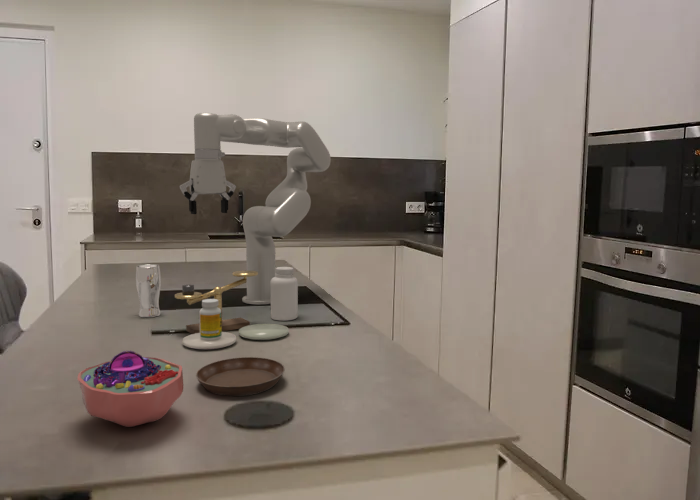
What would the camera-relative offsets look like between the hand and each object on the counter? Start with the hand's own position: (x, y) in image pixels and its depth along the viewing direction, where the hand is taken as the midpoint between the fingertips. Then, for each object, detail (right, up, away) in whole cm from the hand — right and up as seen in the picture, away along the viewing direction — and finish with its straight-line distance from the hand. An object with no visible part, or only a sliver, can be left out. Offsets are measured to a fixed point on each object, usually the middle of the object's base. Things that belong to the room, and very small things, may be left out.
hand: (209, 213), depth 180 cm
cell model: (+5, -41, -76) cm, 86 cm away
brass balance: (+6, -33, -16) cm, 37 cm away
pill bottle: (+23, -31, -3) cm, 39 cm away
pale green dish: (+20, -33, -22) cm, 44 cm away
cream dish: (+7, -34, -30) cm, 46 cm away
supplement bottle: (+8, -33, -30) cm, 46 cm away
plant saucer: (+20, -39, -58) cm, 73 cm away
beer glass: (-18, -31, -1) cm, 35 cm away
